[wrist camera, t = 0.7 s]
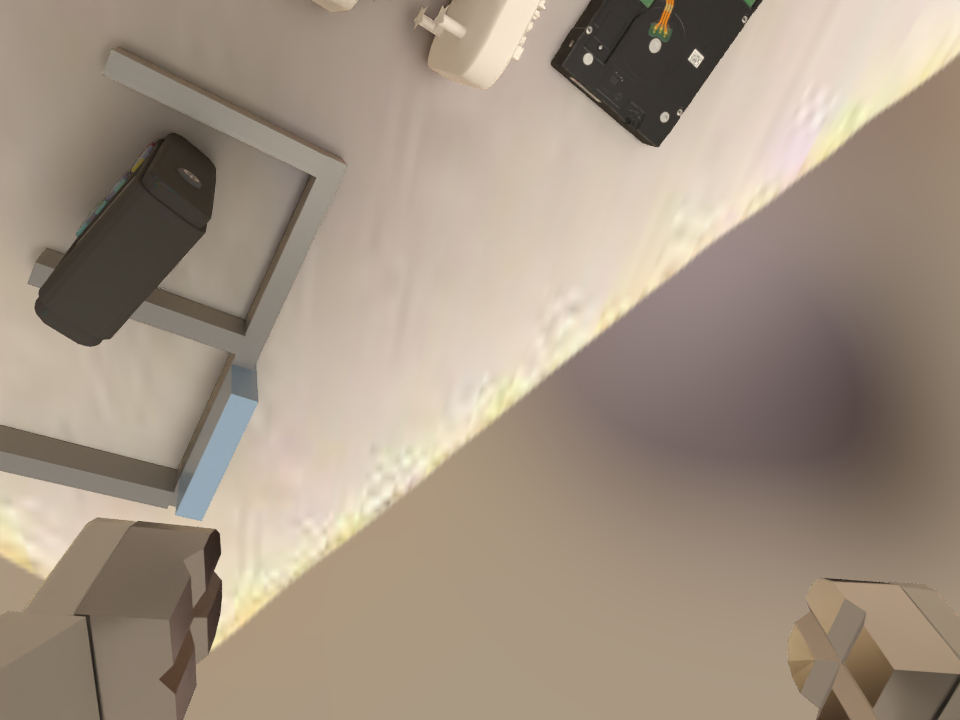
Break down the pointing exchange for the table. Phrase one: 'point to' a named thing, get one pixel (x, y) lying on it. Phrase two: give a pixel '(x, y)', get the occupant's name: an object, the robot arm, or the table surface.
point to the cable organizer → (471, 36)
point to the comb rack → (192, 320)
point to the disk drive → (649, 56)
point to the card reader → (130, 242)
